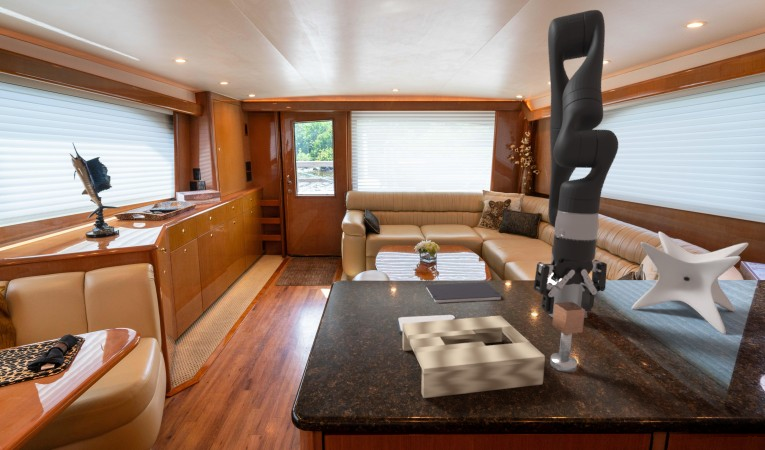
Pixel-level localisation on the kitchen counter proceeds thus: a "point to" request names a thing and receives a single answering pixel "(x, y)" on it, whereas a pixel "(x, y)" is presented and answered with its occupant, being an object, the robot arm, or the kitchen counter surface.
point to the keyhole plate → (471, 356)
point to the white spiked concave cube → (690, 278)
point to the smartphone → (421, 320)
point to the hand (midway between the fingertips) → (566, 311)
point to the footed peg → (566, 334)
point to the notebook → (462, 292)
